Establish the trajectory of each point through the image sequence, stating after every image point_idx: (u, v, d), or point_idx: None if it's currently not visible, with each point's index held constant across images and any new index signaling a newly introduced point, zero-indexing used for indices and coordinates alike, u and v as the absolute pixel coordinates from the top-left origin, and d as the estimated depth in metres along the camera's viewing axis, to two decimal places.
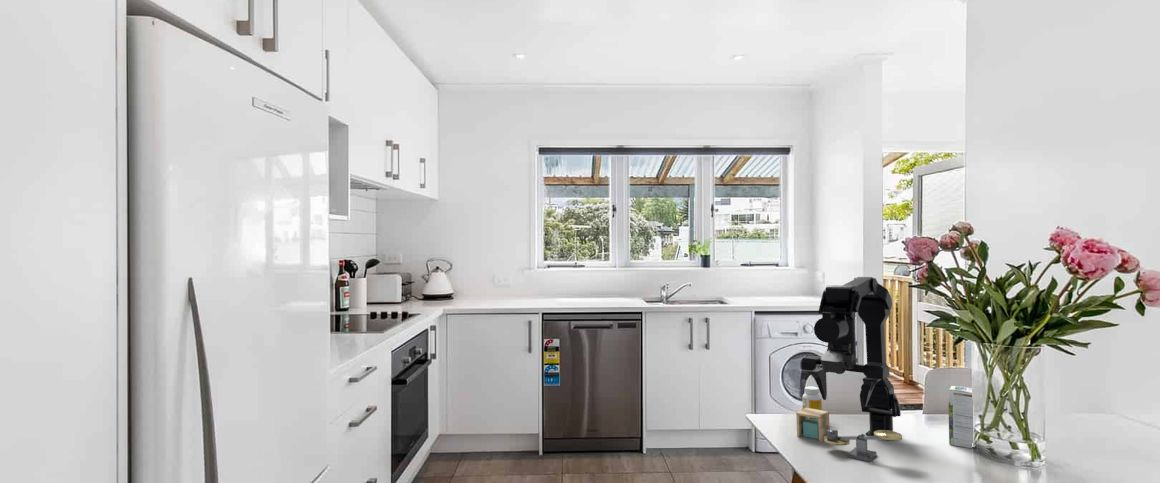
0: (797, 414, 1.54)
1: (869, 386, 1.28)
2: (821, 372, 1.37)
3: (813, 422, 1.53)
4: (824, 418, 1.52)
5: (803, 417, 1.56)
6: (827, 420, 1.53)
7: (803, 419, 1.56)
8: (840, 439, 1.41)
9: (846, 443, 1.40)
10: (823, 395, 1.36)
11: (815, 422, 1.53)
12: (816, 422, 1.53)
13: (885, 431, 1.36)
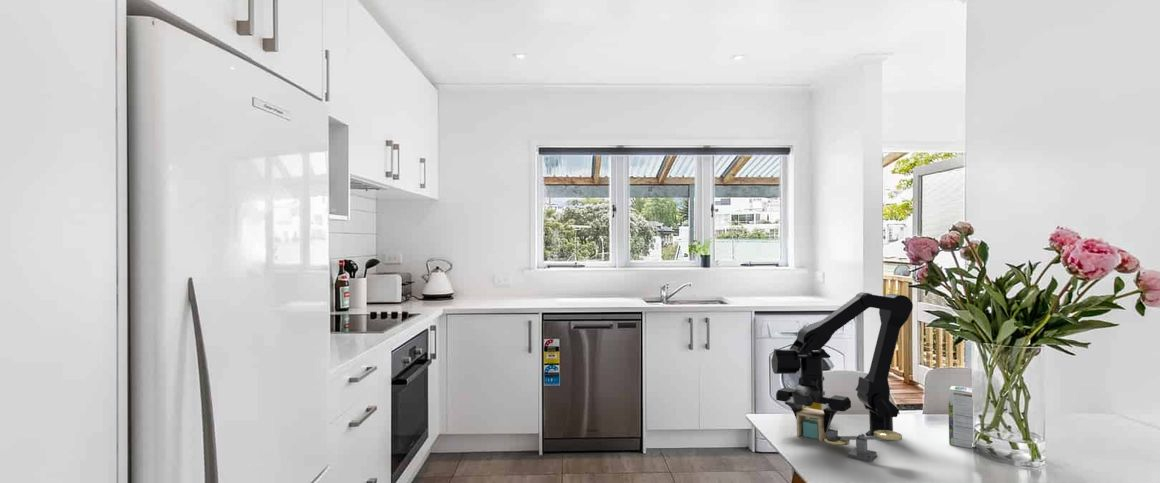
0: (797, 414, 1.54)
1: (829, 416, 1.50)
2: (798, 403, 1.57)
3: (813, 422, 1.53)
4: None
5: (803, 417, 1.56)
6: None
7: (803, 419, 1.56)
8: (840, 439, 1.41)
9: (846, 443, 1.40)
10: None
11: (815, 422, 1.53)
12: (816, 422, 1.53)
13: (885, 431, 1.36)
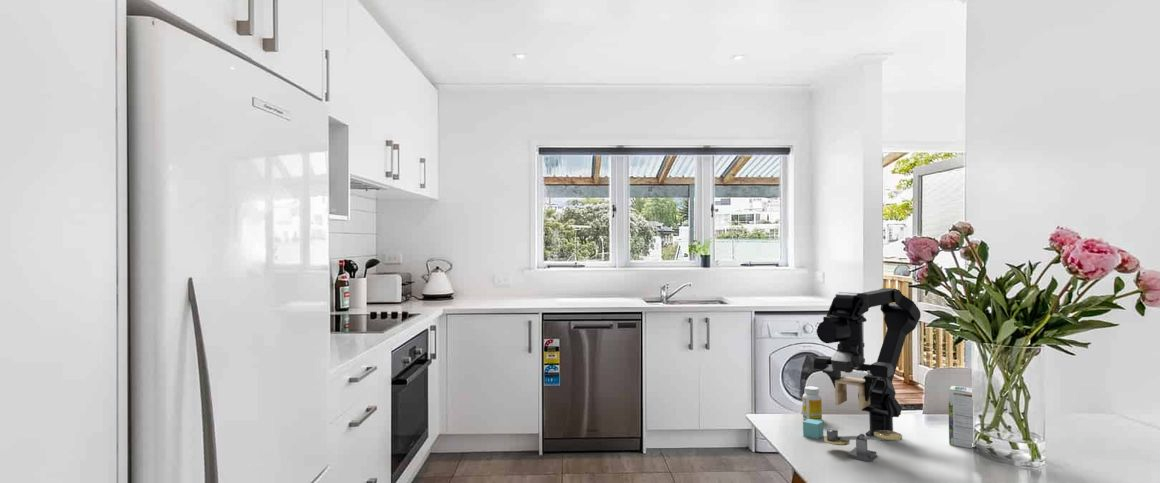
0: (836, 382, 1.47)
1: (870, 383, 1.43)
2: (836, 371, 1.50)
3: (813, 422, 1.53)
4: (864, 385, 1.45)
5: (842, 385, 1.49)
6: None
7: (842, 388, 1.49)
8: (840, 439, 1.41)
9: (846, 443, 1.40)
10: None
11: (815, 422, 1.53)
12: (816, 422, 1.53)
13: (885, 431, 1.36)
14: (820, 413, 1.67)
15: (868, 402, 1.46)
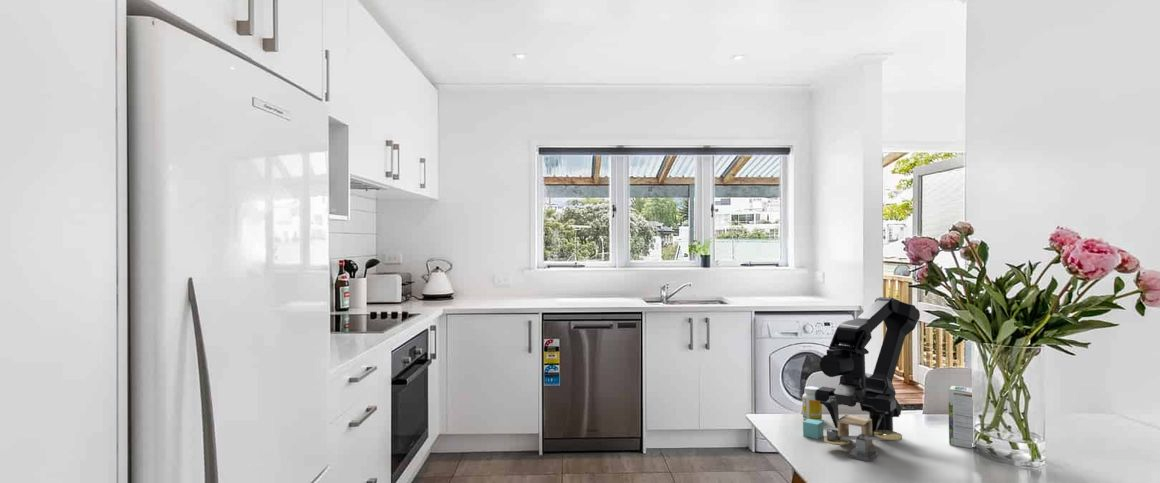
0: (838, 422, 1.47)
1: (878, 417, 1.42)
2: (833, 403, 1.50)
3: (813, 422, 1.53)
4: (867, 426, 1.44)
5: (844, 425, 1.49)
6: (870, 428, 1.46)
7: (844, 427, 1.49)
8: (840, 439, 1.41)
9: (846, 443, 1.40)
10: (835, 424, 1.49)
11: (815, 422, 1.53)
12: (816, 422, 1.53)
13: (885, 431, 1.36)
14: (820, 413, 1.67)
15: (870, 442, 1.46)
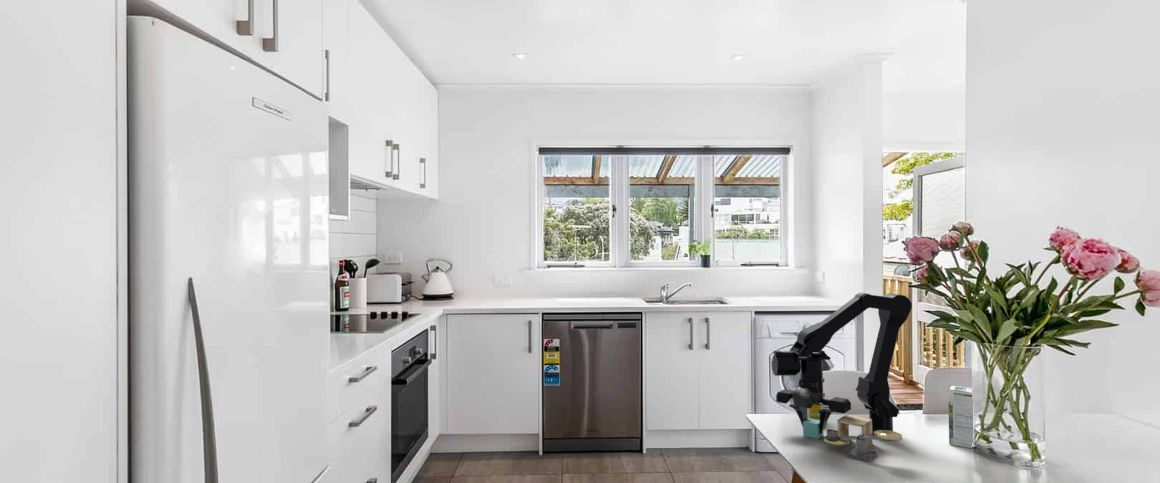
0: (838, 422, 1.47)
1: (824, 417, 1.51)
2: None
3: (813, 422, 1.53)
4: (867, 426, 1.44)
5: (844, 425, 1.49)
6: (870, 428, 1.46)
7: (844, 427, 1.49)
8: (840, 439, 1.41)
9: (846, 443, 1.40)
10: None
11: (815, 422, 1.53)
12: (816, 422, 1.53)
13: (885, 431, 1.36)
14: None
15: (870, 442, 1.46)
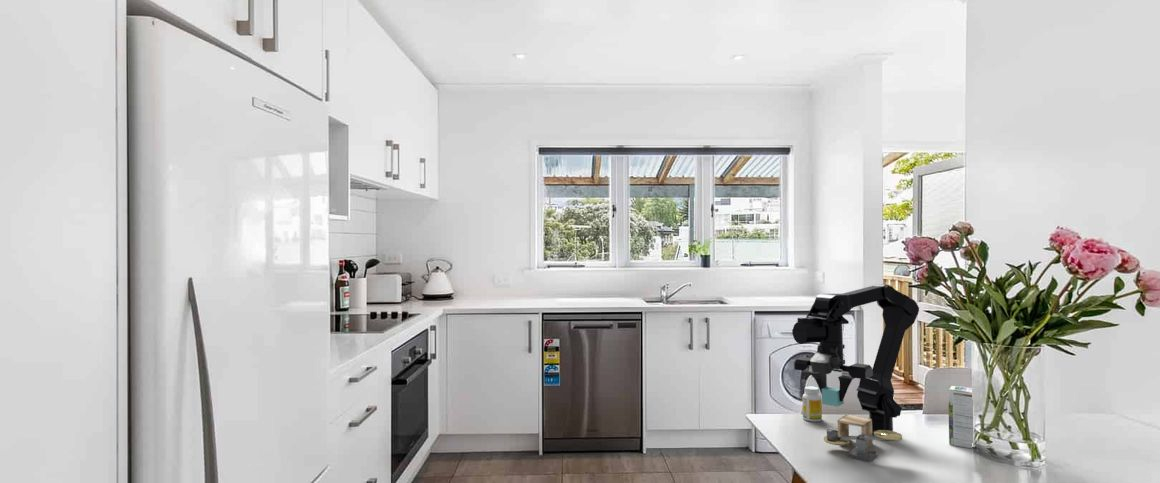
0: (838, 422, 1.47)
1: (844, 383, 1.45)
2: (821, 373, 1.50)
3: (832, 389, 1.47)
4: (867, 426, 1.44)
5: (844, 425, 1.49)
6: (870, 428, 1.46)
7: (844, 427, 1.49)
8: (840, 439, 1.41)
9: (846, 443, 1.40)
10: None
11: (834, 389, 1.47)
12: (835, 389, 1.47)
13: (885, 431, 1.36)
14: (820, 413, 1.67)
15: (870, 442, 1.46)
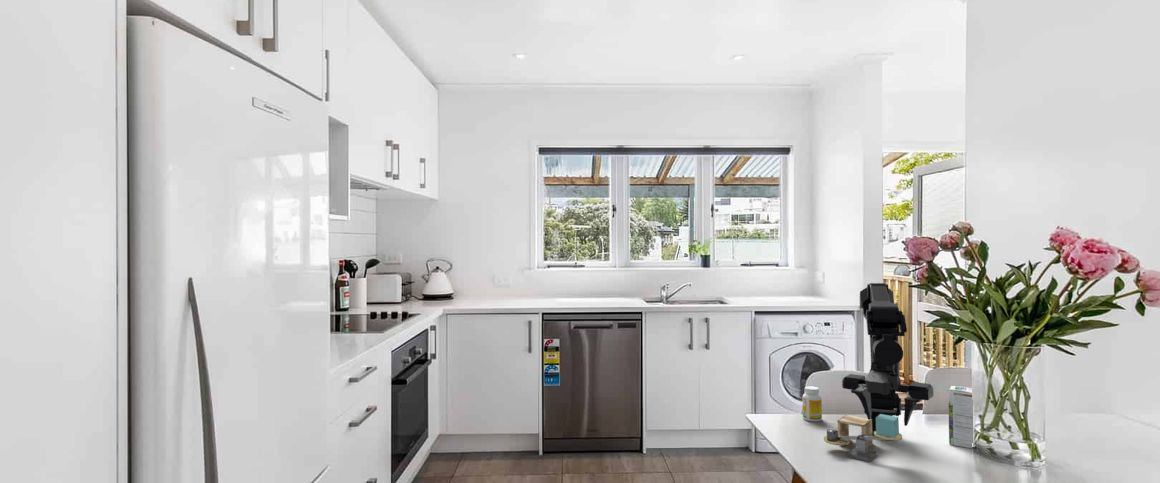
0: (838, 422, 1.47)
1: (910, 406, 1.29)
2: (866, 392, 1.37)
3: (888, 418, 1.33)
4: (867, 426, 1.44)
5: (844, 425, 1.49)
6: (870, 428, 1.46)
7: (844, 427, 1.49)
8: (840, 439, 1.41)
9: (846, 443, 1.40)
10: (868, 415, 1.37)
11: (890, 418, 1.33)
12: (891, 418, 1.33)
13: None
14: (820, 413, 1.67)
15: (870, 442, 1.46)
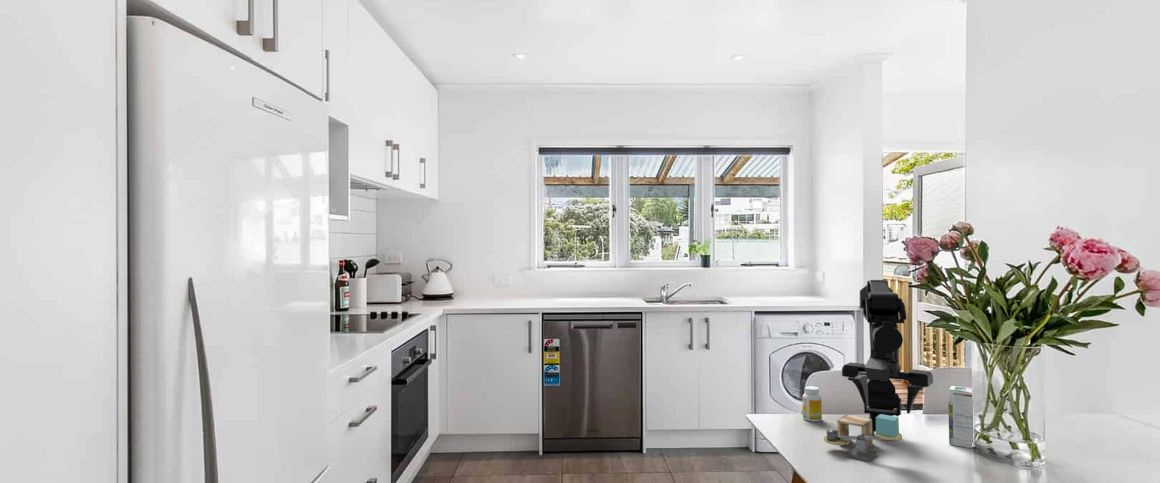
0: (838, 422, 1.47)
1: (913, 393, 1.29)
2: (863, 379, 1.38)
3: (888, 418, 1.33)
4: (867, 426, 1.44)
5: (844, 425, 1.49)
6: (870, 428, 1.46)
7: (844, 427, 1.49)
8: (840, 439, 1.41)
9: (846, 443, 1.40)
10: (865, 402, 1.37)
11: (890, 418, 1.33)
12: (891, 418, 1.33)
13: None
14: (820, 413, 1.67)
15: (870, 442, 1.46)
